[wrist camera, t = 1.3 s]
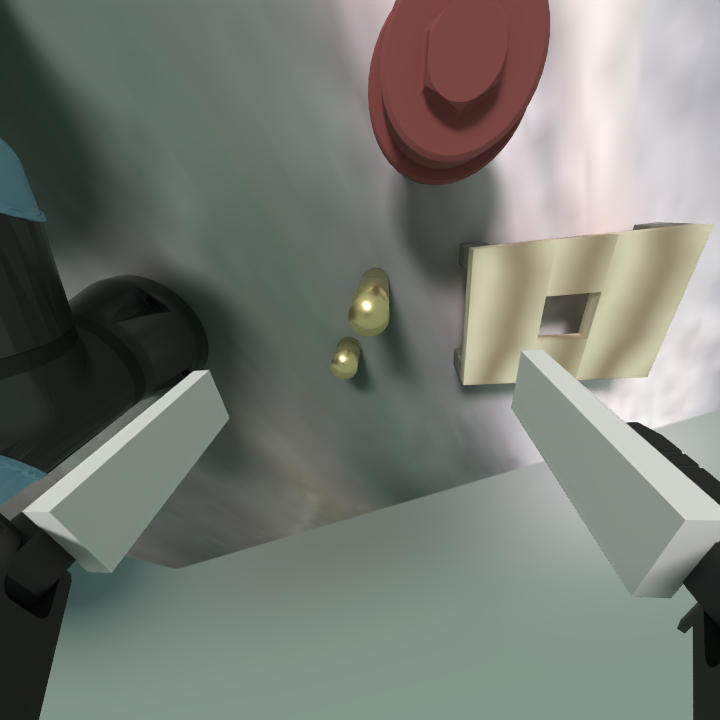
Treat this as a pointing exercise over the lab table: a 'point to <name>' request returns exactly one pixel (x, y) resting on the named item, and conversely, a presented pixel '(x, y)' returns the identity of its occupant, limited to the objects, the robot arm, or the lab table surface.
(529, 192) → the lab table surface
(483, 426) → the lab table surface
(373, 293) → the long pin
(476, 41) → the mechanical component
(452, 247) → the lab table surface
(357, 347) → the short pin
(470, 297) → the stand
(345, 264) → the lab table surface
